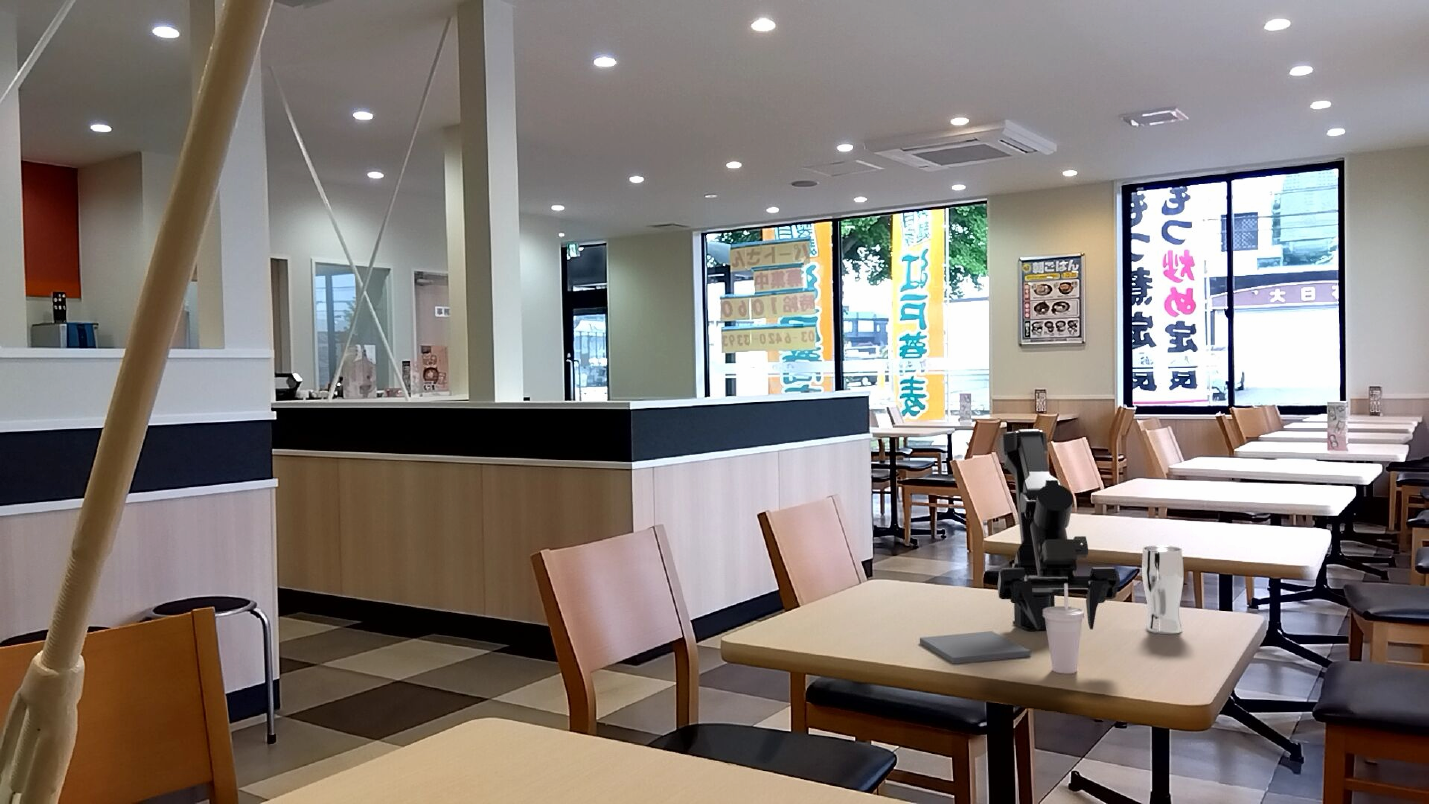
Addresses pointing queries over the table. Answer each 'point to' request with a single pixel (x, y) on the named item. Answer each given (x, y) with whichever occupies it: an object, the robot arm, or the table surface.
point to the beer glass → (1163, 588)
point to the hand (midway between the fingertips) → (1065, 628)
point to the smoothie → (1063, 635)
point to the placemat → (974, 647)
